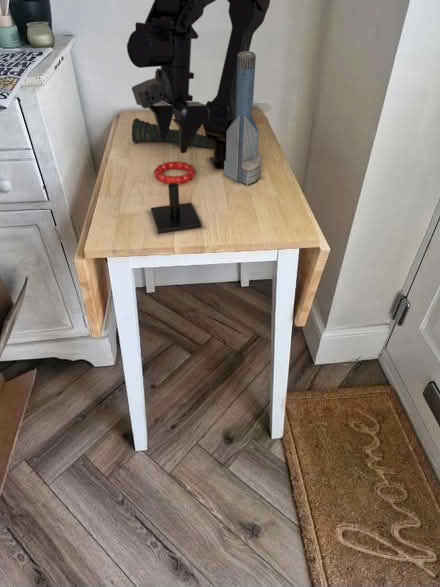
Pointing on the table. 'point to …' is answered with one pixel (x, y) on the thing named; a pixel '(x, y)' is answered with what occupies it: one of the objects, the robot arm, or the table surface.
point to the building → (243, 127)
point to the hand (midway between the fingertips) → (172, 146)
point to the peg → (175, 214)
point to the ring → (174, 179)
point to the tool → (151, 134)
